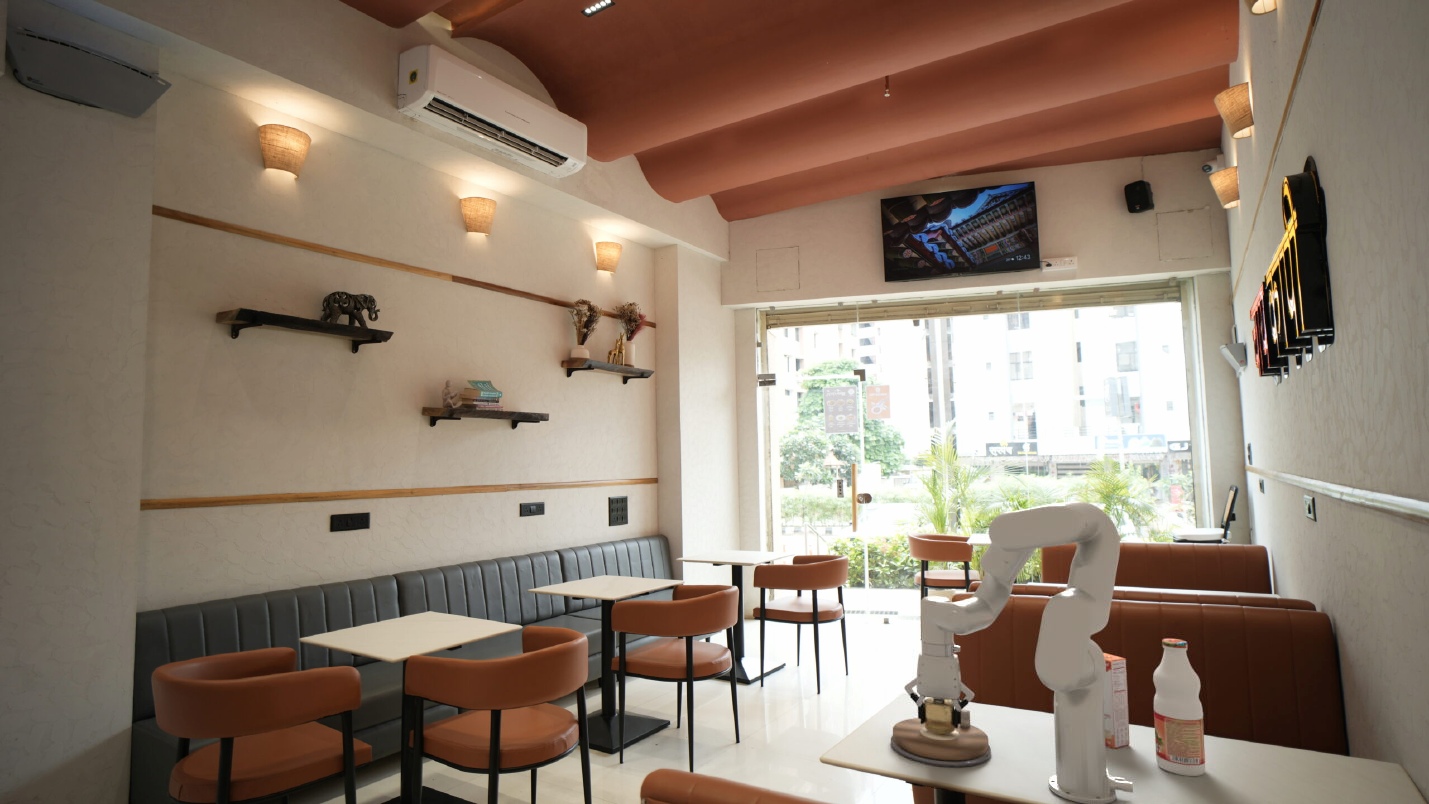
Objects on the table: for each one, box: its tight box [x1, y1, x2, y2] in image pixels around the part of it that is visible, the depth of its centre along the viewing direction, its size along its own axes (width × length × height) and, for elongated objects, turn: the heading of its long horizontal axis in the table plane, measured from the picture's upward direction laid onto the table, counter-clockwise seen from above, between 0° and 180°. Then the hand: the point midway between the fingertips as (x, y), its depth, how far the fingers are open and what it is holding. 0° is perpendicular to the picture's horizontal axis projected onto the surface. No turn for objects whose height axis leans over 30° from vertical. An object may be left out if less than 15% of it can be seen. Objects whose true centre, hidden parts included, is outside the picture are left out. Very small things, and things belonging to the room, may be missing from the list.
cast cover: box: [923, 697, 955, 733], centre depth 179 cm, size 7×7×7 cm
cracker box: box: [1103, 652, 1130, 749], centre depth 186 cm, size 14×6×21 cm, turn 25°
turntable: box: [892, 708, 990, 760], centre depth 179 cm, size 22×22×6 cm
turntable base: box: [890, 734, 992, 769], centre depth 179 cm, size 23×23×1 cm
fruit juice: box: [1152, 638, 1206, 777], centre depth 168 cm, size 9×9×28 cm
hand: (939, 723), depth 179 cm, fingers open, 7 cm apart
